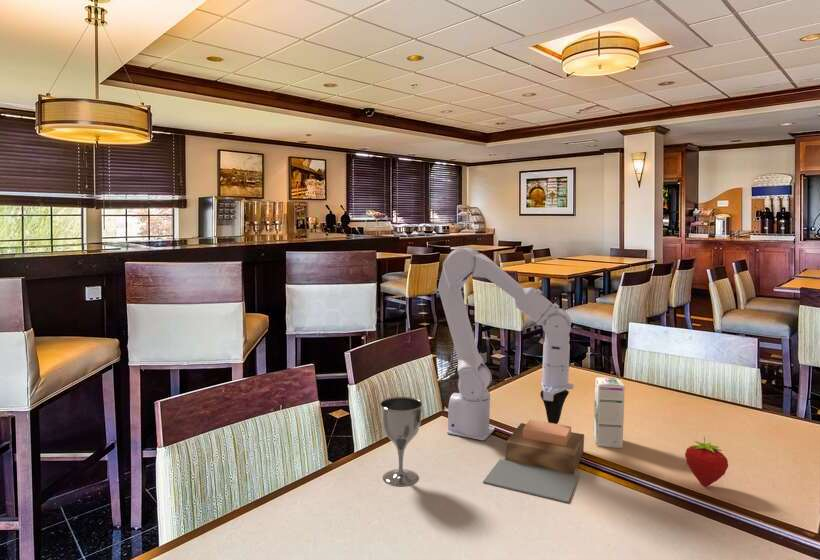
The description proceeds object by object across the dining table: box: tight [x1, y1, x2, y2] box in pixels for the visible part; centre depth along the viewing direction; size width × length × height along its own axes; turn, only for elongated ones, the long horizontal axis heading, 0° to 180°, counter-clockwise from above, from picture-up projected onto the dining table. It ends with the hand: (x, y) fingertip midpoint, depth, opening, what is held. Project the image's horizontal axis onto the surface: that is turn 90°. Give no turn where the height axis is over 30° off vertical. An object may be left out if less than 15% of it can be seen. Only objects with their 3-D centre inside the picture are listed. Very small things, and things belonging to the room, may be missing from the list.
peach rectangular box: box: [523, 418, 572, 446], centre depth 114 cm, size 9×6×2 cm, turn 63°
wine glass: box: [380, 396, 423, 487], centre depth 103 cm, size 8×8×15 cm
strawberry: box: [684, 436, 729, 487], centre depth 101 cm, size 6×8×10 cm
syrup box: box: [593, 376, 626, 449], centre depth 120 cm, size 6×6×14 cm
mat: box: [482, 458, 579, 504], centre depth 103 cm, size 16×11×1 cm
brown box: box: [504, 422, 585, 475], centre depth 113 cm, size 14×12×4 cm
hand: (553, 422), depth 120 cm, fingers closed
